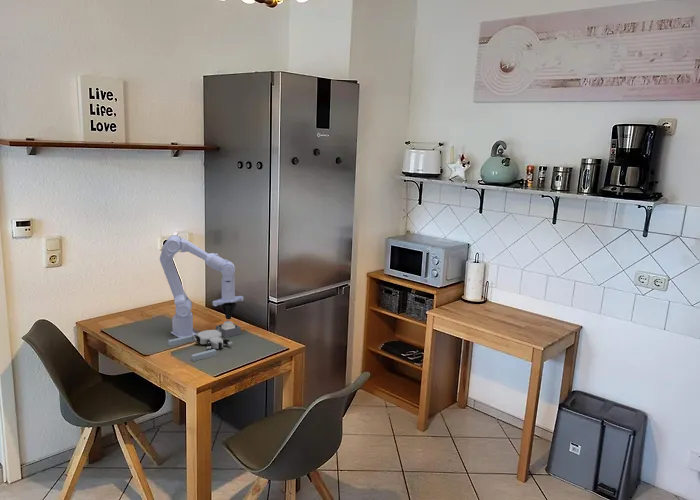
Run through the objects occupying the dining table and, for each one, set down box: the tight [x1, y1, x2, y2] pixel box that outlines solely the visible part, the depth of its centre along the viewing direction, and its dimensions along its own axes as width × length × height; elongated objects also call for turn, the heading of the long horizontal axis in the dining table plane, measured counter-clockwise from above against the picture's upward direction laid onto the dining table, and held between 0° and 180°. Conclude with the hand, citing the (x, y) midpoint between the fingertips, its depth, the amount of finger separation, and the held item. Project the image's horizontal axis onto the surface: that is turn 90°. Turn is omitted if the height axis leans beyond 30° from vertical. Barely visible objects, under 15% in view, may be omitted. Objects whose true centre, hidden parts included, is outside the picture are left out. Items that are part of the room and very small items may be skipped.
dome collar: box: [215, 322, 242, 339], centre depth 240 cm, size 8×8×3 cm
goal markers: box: [167, 335, 218, 362], centre depth 220 cm, size 22×10×2 cm, turn 44°
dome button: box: [221, 320, 235, 330], centre depth 240 cm, size 6×6×5 cm
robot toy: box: [192, 329, 233, 350], centre depth 226 cm, size 12×4×15 cm
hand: (228, 318), depth 239 cm, fingers closed
